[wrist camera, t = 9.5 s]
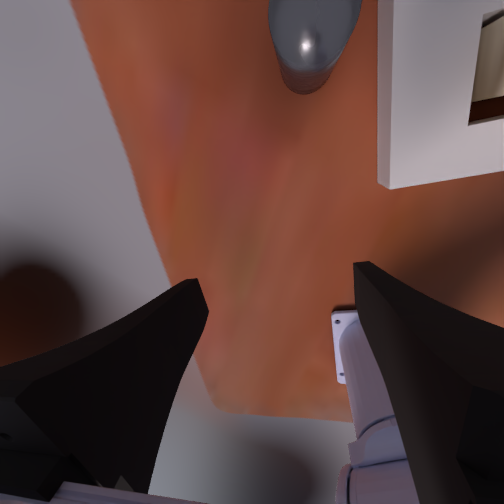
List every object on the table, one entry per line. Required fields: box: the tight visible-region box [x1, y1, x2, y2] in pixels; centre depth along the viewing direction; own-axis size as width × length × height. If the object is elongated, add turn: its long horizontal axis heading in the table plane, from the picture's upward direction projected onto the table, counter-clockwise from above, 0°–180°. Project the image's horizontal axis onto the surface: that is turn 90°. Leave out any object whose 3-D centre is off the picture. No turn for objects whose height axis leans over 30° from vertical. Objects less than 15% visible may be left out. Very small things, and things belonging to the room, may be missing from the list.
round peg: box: [268, 0, 362, 94], centre depth 11 cm, size 3×3×7 cm
